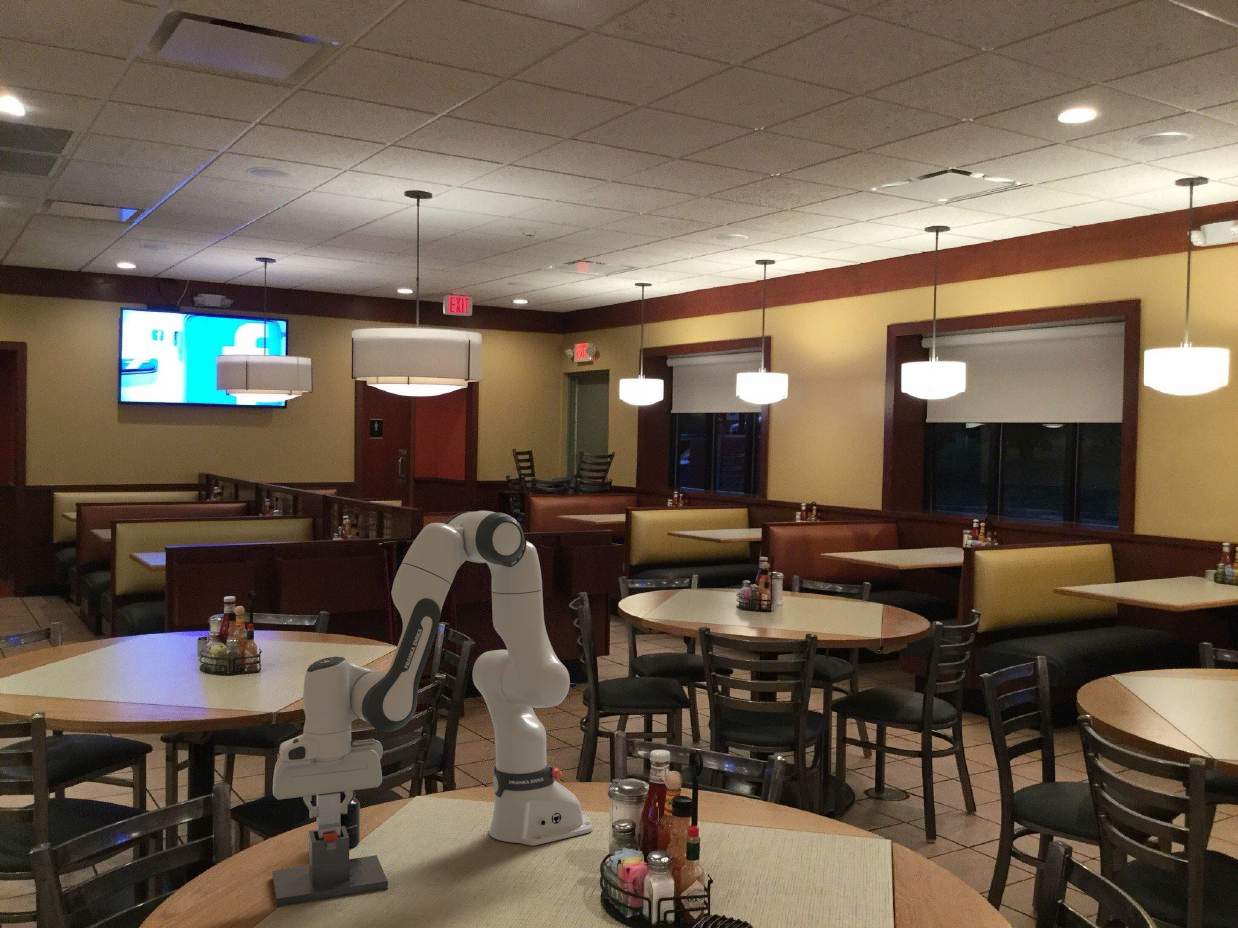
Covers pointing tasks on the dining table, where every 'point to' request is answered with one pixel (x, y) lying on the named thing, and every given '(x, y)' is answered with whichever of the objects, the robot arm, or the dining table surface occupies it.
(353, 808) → the supplement bottle
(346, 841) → the stand
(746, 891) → the dining table surface
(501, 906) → the dining table surface
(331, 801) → the column
